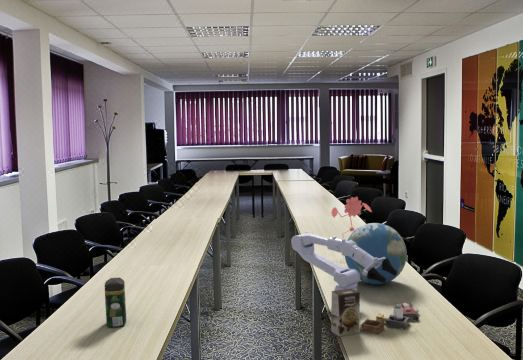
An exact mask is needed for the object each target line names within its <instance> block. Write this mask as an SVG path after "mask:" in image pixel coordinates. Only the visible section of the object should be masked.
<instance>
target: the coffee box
mask: <svg viewBox="0 0 523 360" xmlns="http://www.w3.org/2000/svg"><path fill="white" fill-rule="evenodd" d="M360 297H361V292H360V291H358V290H357V291H356V290H353V289H351V288H350V289H343V290H336V291H334V290H331V317H330V318H331V320H330V322H331V326H330V327H331V328H330V332H332V333H333V334H334V335H336V336H338V337H346V336H352V335H356V334H360V313H361V312H360V310H361V309H360V306H361V303H360V302H361V301H360V300H361V298H360Z"/></svg>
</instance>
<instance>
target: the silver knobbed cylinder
mask: <svg viewBox="0 0 523 360" xmlns="http://www.w3.org/2000/svg"><path fill="white" fill-rule="evenodd" d="M401 305H402V303H401V302H400V303H399V302H396V303H395V306H393V315H394V321H401V322H403V307H401Z"/></svg>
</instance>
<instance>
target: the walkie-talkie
mask: <svg viewBox="0 0 523 360" xmlns="http://www.w3.org/2000/svg"><path fill="white" fill-rule="evenodd" d="M401 307H403V317H409V321H418V320H419V319H420V317H419V316H418V315H419V308H418V307H417V306H414V305H413V304H412V302H410V301H409V302H401Z"/></svg>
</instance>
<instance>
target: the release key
mask: <svg viewBox="0 0 523 360" xmlns="http://www.w3.org/2000/svg"><path fill="white" fill-rule="evenodd" d="M387 318H388V319H389V316H385V315H384V313H378V314H376V316H375V320H376V321H383V322H384V323H386V319H387Z"/></svg>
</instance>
